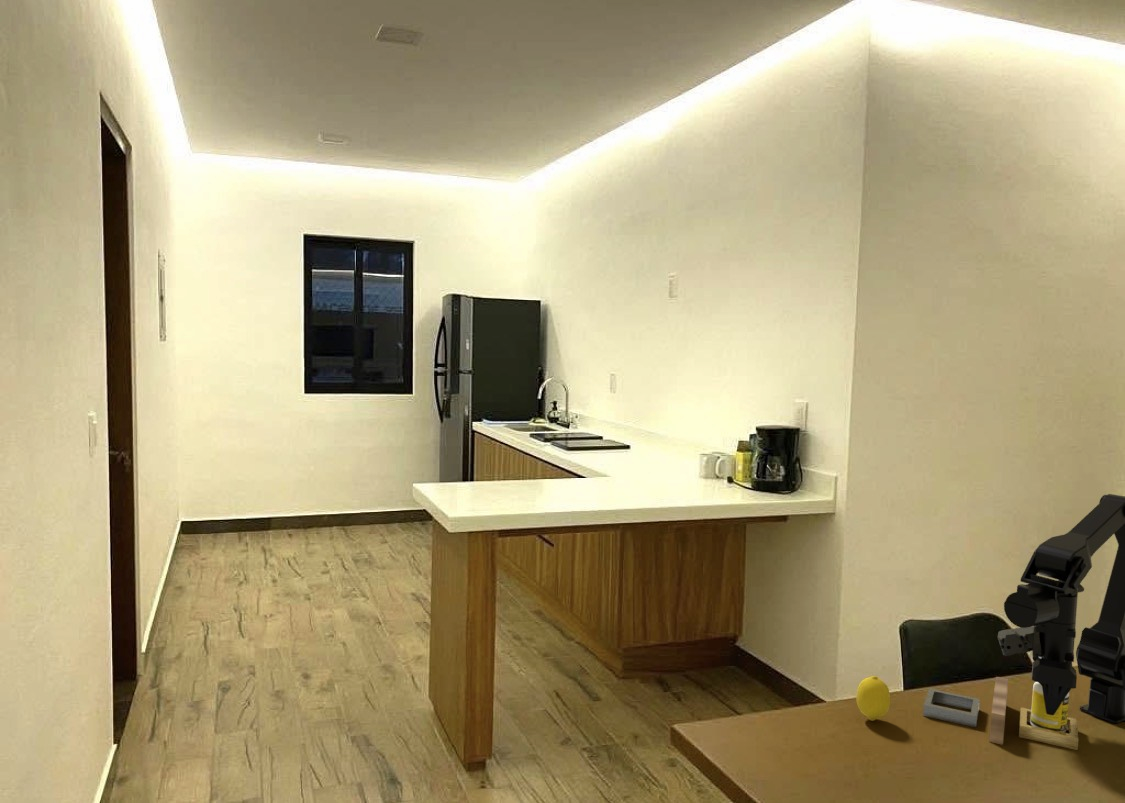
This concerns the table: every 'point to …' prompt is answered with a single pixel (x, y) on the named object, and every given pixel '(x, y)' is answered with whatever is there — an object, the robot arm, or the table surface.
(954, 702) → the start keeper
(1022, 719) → the frame
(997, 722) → the brown wooden bar
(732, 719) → the table surface
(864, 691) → the lemon
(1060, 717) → the supplement bottle
